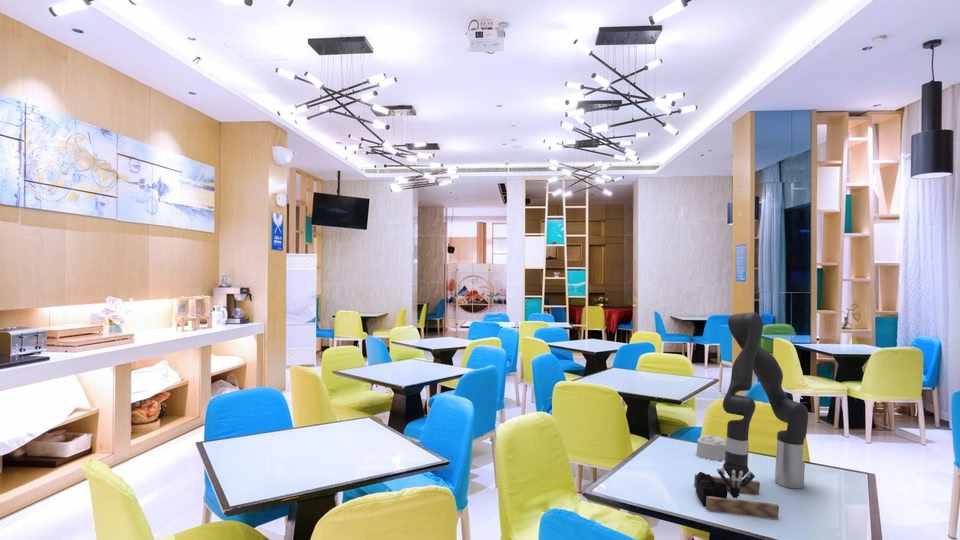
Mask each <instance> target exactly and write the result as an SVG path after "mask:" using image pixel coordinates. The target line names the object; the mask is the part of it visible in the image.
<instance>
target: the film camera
mask: <svg viewBox="0 0 960 540" xmlns="http://www.w3.org/2000/svg"><path fill="white" fill-rule="evenodd" d="M712 476H713V475H711V474H709V473H707V474H706V473H705V472H703V471H699V472H698V473H697V482H696V487H695V492H696V495H697V497H698V500H699V501H700V503H701V505H702V506H703V507H704V508H706V496H711V497H720V498H728V491H727V486H726V484H724V483H721V482H716V481H715V480H714V479H713V477H712Z"/></svg>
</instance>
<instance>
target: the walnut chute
mask: <svg viewBox="0 0 960 540" xmlns="http://www.w3.org/2000/svg"><path fill="white" fill-rule="evenodd" d="M697 474H698V473H697ZM697 474H694V480H693V481H694V484H693V486H694V488H696V482H697ZM711 476H712V477H713V479H714V480H715V481H716V482H721V483H724V484H726V483H725V481H724V480H723V479H722V477H721V476H717V475H716V476H714V475H711ZM726 479H727V480H728V481H730V478H729V477H726ZM743 479H744V478H742V480H743ZM760 485H761V483H760V481H759V480H753V479H752V480H751V481H750V482H749V483H748V484H747V485H746V486H745V487H741V488H740V493H742V494H744V493H745V494H752V495H760V489H761V488H760V487H761V486H760ZM726 486H727V492H730V486H728V485H727V484H726ZM705 509H707V510H709V512H715V513H716V512H717V513H724V514H733V515H742V516H749V517H758V518H766V519H776V520H779V513H780V511H779V509H780V505H779V504H778V503H771V502H761V501H752V500H744V499H738V498H728V497H727V498H720V497H711V496H706V507H705ZM707 510H706V511H707Z"/></svg>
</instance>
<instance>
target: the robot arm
mask: <svg viewBox="0 0 960 540" xmlns="http://www.w3.org/2000/svg"><path fill="white" fill-rule="evenodd" d="M727 325H728V329H729V332H730V333H731V335H732V338H734V340H735V342H736V343H737V345H738V346H739V347H740V349H741V351H740V353H739V354H738V355H737V357H736V358H735V360H734V362H733V364H732V367H731V374H730V375H731V376H730V383H729V386H728V389H727V391H726V394H725V396H724V398H723V400H722V409H723V410H724V411H725V413H726V414H731V415H735V416H736V415H737V416H741V417H743V418H741V419H732V420H729V421H727V424H726V438H725V439H726V440H725V441H726V447H725V461H724V463H723V464H722V467H721V468H717V469H716V472H717V473H718V475H719V477H722V479H723V480H724V481H725V483H726V484H727V485H728V486H730V491H729V494H730V496H731V498H732V499H738V497H739V496H740V493H741V492H740V488H741V487H745V486H746V485H747V484H748V483H749V482H750V481H751V480H753V479H754V478H755V477H756V475H755V474H754V473H753V472H752V471H750V469H749V467H748V465H749V451H750V450H749V447H750V446H749V445H750V444H749V432H750V430H749V429H750V423H751V421H752V418H753V416H754V413H755V410H756V407H757V405H756V401H755V400H754V399H753V398H752V397H751V396H745V395H738V394H737V393H739V392H749V391H750V390H751V389H752V385H753V375H754V374H755V376H756V378H757V380H758V381H759V384H760V385H761V387H762V390H763V391H764V393H765V395H766V397H767V399H768V402H769V404H770V407H771V410H772V413H773V414H774V416H775V417H776V419H778V420H779V421H781V422H783V423H786V424H787V427H786V430H779V431H777V432H776V433H777V434H776V453H775V472H774V481H775V483H776V484H778V485H779V486H782V487H785V488H788V489H802V488H804V487H805V486H804V485H805V470H806V464H805V462H804V448H805V447H804V446H805V443H804V442H805V439H806V436H807V434H808V433H807V432H808V423H809V411H808V408H807V406H806V405H805V404H804V403H801V402H798V401H794V400H791V399H789V397H788V396H787V395H786V394H785V392H784V389H783V387H782V383H783V380H784V379H783V378H784V375H783V370H782V368H781V366H780V365H779V362H778V360H777V359H776V357H775V356H774V355H772V353H771V352H769V351H768V350H767V349H765V348H764V347H761V346H760V342H761V340H762V336H763V335H762V334H763V332H764V331H763V330H764V322H763V319H762V317H761V315H760V314H759V313H757V312H743V313H736V314H735V313H733V314H731V315H730V316H729V317H728V319H727ZM753 373H754V374H753ZM726 474H727V476H728V478H730V481H728V480H727V479H726V478H727V477H726V476H725V475H726ZM742 479H743V480H742Z"/></svg>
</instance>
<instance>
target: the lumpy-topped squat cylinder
mask: <svg viewBox="0 0 960 540" xmlns="http://www.w3.org/2000/svg"><path fill="white" fill-rule="evenodd" d="M696 443H697V444H696V456H697V457H698V456H699V457H698V458H700V457H701V458H700V459H703V458H705V459H704V460H707V459H710V460H709V461H713V460H725V447H726V440H725V439H724V438H722V437H720V436H718V435H715V436H712V435H711V434H705V435H703V436H701V437H698V438H697V442H696Z"/></svg>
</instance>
